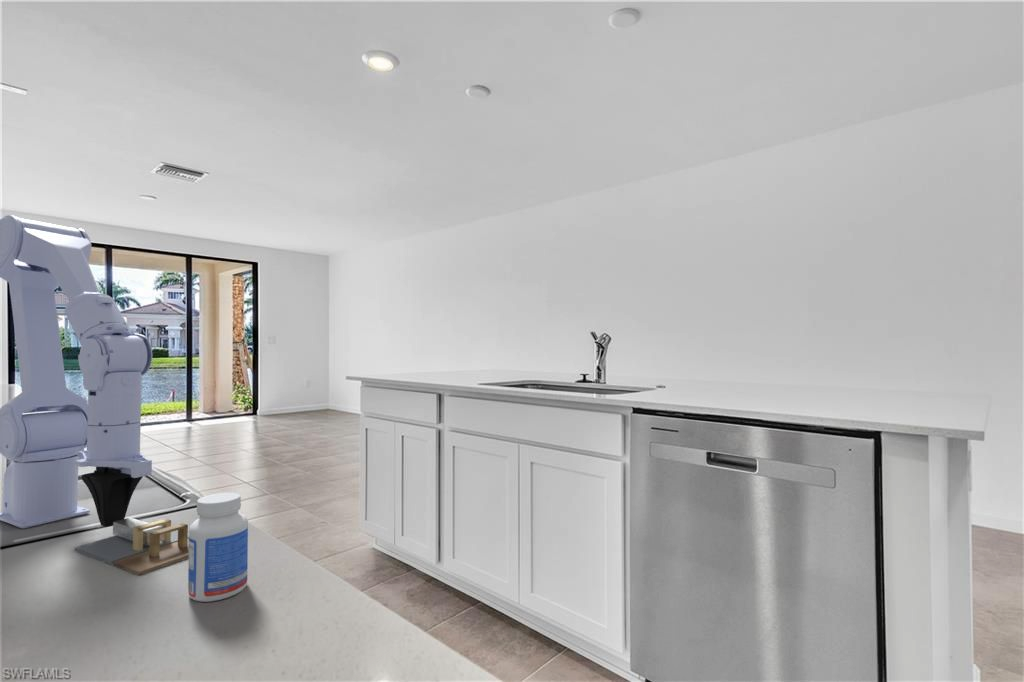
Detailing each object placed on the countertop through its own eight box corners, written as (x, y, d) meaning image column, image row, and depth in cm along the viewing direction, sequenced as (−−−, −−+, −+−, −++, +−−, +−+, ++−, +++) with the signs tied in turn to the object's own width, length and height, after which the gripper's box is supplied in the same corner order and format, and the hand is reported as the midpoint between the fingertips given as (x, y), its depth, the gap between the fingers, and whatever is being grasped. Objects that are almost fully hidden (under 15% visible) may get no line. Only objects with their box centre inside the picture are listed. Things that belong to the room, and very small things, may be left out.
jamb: (113, 565, 59) (114, 538, 59) (199, 537, 68) (199, 514, 68) (139, 575, 57) (139, 547, 57) (224, 545, 66) (225, 521, 66)
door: (74, 550, 64) (75, 525, 64) (160, 526, 72) (160, 504, 72) (111, 564, 60) (112, 537, 60) (197, 537, 68) (198, 513, 69)
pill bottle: (258, 580, 56) (260, 491, 56) (225, 605, 51) (228, 506, 51) (211, 577, 57) (213, 489, 57) (174, 601, 51) (177, 504, 51)
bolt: (112, 534, 67) (113, 521, 67) (129, 529, 69) (130, 517, 69) (147, 545, 63) (147, 532, 63) (164, 540, 65) (164, 527, 65)
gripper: (51, 422, 69) (49, 523, 69) (108, 431, 62) (105, 543, 62) (112, 416, 75) (109, 509, 75) (169, 424, 69) (167, 526, 68)
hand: (112, 524), depth 69 cm, fingers closed
